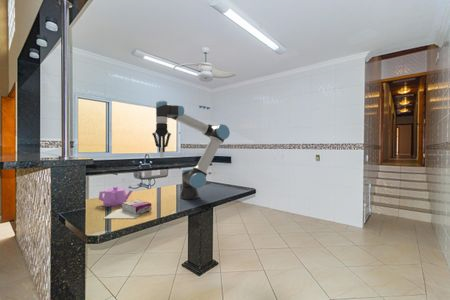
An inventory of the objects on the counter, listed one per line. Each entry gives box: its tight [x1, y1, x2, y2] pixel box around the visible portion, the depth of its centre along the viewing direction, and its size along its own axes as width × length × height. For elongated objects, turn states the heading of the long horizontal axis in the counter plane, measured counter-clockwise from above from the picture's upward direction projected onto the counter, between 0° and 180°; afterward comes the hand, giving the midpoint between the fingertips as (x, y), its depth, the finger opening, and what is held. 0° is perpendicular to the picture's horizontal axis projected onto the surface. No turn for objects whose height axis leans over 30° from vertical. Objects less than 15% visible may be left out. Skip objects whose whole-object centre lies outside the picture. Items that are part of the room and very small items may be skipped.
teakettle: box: [98, 186, 133, 207], centre depth 161 cm, size 17×17×12 cm
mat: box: [103, 208, 142, 220], centre depth 138 cm, size 18×18×1 cm
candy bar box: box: [121, 199, 153, 215], centre depth 145 cm, size 11×5×16 cm
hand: (161, 156), depth 158 cm, fingers closed
